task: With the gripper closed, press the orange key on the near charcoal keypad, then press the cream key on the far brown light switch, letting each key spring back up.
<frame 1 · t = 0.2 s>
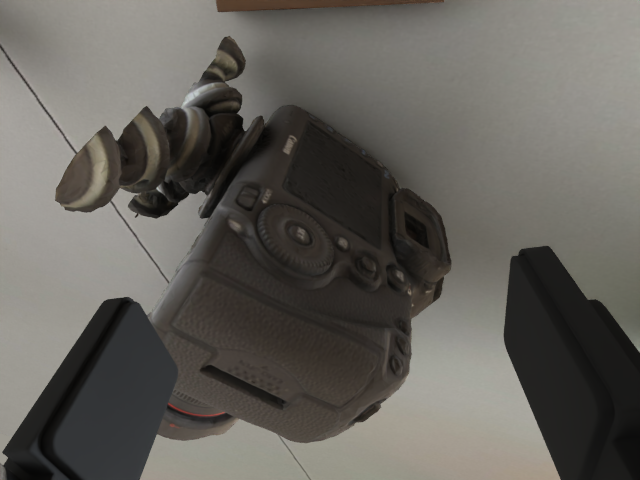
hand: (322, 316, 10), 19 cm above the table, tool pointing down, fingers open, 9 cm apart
camera: (259, 235, 33), on the table
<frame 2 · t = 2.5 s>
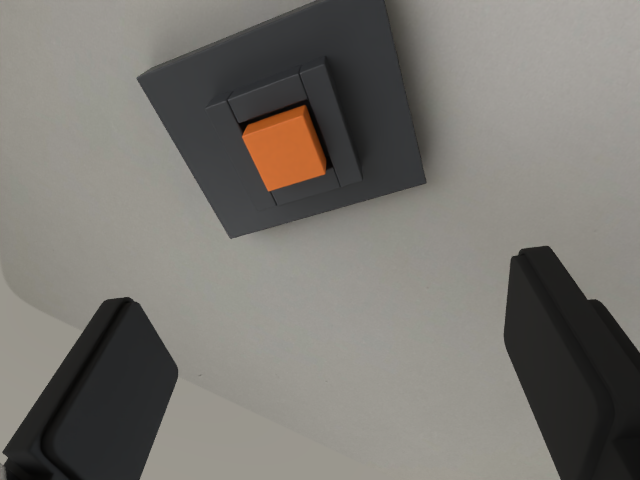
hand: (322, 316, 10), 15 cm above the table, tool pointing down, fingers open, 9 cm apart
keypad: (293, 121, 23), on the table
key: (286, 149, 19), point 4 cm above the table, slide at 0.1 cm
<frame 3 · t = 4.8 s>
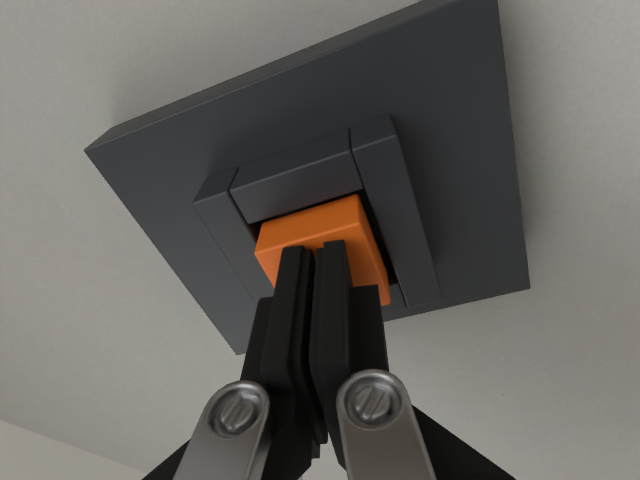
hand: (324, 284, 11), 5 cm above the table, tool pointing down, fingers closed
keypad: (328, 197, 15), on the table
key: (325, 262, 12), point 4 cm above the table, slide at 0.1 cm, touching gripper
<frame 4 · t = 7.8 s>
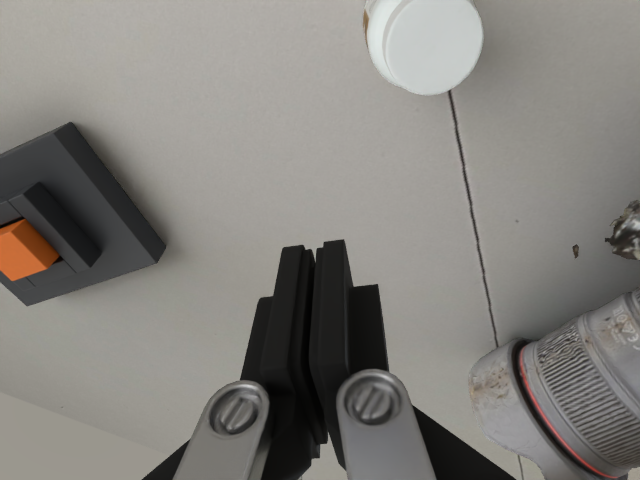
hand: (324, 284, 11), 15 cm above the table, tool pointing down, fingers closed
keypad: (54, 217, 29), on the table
pill bottle: (405, 17, 21), on the table
camera: (625, 268, 30), on the table
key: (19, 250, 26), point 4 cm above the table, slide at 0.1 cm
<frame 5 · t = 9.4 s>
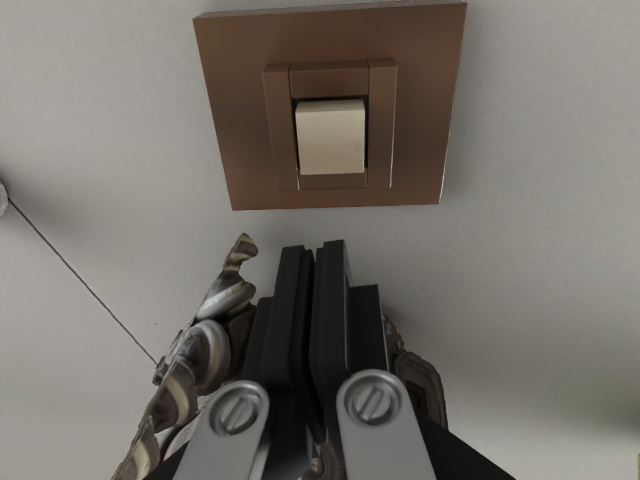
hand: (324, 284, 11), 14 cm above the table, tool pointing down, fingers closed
brown light switch: (331, 110, 22), on the table
camera: (269, 358, 35), on the table
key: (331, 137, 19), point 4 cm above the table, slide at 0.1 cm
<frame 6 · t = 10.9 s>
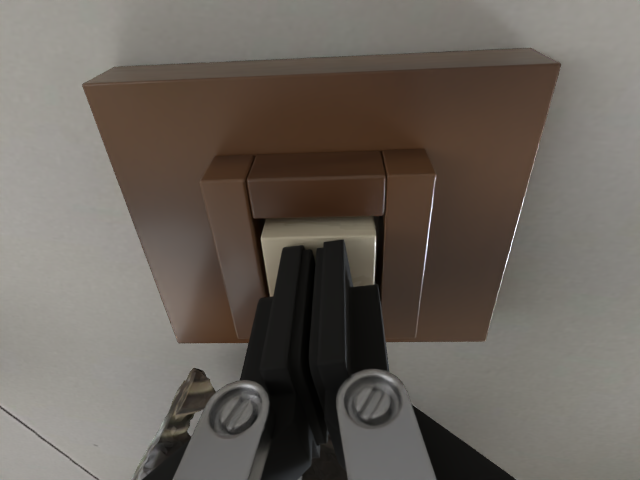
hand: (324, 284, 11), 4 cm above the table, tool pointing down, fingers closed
brown light switch: (324, 207, 15), on the table
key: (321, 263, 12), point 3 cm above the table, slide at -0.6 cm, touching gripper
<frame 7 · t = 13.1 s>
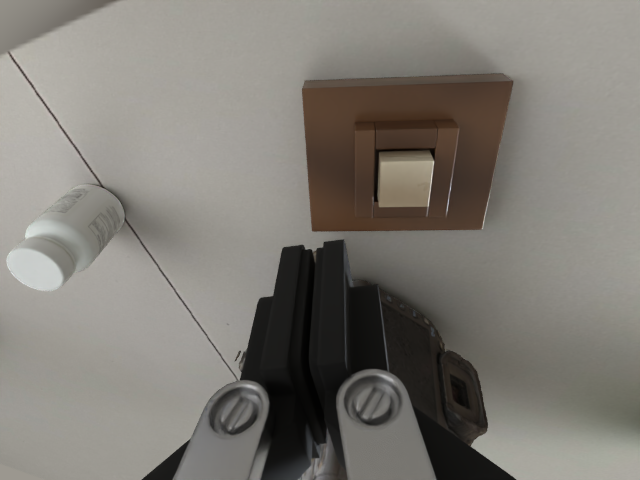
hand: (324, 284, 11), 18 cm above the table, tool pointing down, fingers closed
brown light switch: (397, 154, 28), on the table
pill bottle: (99, 206, 32), on the table
camera: (321, 356, 40), on the table
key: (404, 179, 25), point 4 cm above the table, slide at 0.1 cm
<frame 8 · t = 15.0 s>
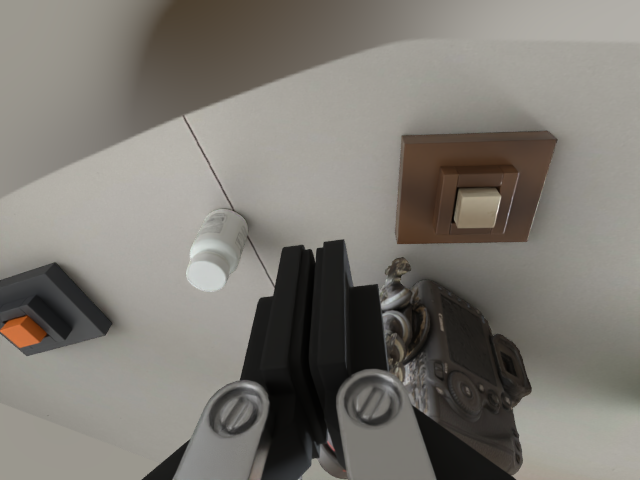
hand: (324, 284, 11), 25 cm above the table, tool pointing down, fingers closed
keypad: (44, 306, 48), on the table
brown light switch: (464, 186, 37), on the table
pill bottle: (227, 225, 41), on the table
camera: (386, 341, 50), on the table
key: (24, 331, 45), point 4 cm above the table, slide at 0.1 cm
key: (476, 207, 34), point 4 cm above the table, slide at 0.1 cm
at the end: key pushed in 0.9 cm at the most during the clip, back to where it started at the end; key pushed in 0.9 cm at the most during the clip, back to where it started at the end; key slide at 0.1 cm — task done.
